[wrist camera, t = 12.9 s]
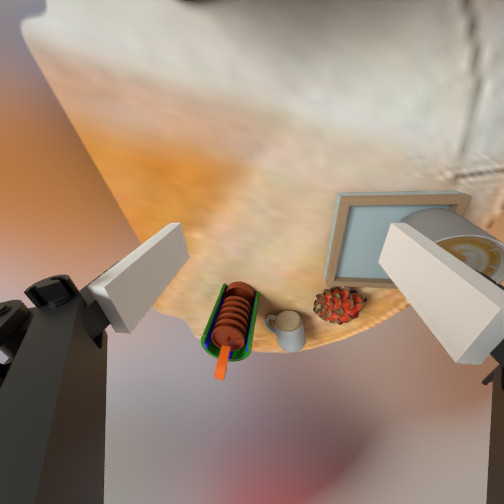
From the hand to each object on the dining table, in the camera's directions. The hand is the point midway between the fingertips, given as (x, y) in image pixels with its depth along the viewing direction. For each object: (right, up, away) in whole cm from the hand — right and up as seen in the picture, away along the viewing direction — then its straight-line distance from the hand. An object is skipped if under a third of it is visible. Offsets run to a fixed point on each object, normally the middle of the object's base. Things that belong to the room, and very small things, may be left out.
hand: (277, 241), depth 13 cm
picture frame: (+23, +3, +26) cm, 35 cm away
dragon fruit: (+19, -11, +35) cm, 41 cm away
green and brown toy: (-5, -12, +39) cm, 42 cm away
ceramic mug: (+8, -20, +42) cm, 47 cm away
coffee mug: (+28, +1, +21) cm, 35 cm away
